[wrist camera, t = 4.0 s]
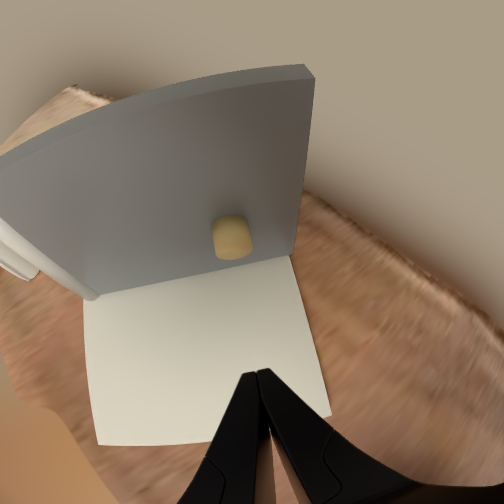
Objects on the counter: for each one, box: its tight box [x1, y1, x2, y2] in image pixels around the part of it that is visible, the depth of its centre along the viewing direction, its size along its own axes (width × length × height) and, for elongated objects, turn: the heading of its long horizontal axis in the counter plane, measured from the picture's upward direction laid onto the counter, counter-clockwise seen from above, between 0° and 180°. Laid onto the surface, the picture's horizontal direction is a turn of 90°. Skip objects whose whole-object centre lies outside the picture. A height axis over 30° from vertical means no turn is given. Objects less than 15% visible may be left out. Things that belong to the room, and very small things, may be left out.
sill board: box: [83, 255, 332, 446], centre depth 20 cm, size 14×17×1 cm
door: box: [0, 64, 315, 301], centre depth 15 cm, size 3×17×14 cm, turn 102°
